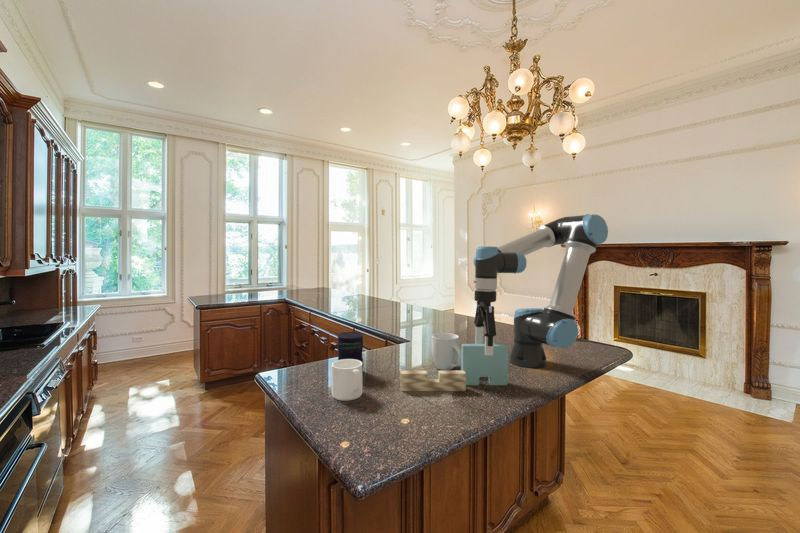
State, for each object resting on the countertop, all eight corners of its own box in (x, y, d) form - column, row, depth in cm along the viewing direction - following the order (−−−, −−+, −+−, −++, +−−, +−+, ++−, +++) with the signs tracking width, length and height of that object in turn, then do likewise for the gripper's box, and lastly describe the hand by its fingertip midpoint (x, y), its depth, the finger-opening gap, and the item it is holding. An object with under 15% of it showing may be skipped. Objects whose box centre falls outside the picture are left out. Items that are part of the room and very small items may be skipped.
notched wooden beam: (463, 387, 122) (464, 370, 122) (465, 390, 119) (465, 373, 119) (400, 387, 122) (400, 370, 122) (400, 391, 119) (400, 373, 119)
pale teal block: (504, 381, 128) (505, 343, 127) (507, 385, 125) (508, 346, 124) (460, 382, 127) (461, 343, 127) (462, 385, 124) (463, 346, 124)
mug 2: (471, 372, 138) (471, 339, 137) (449, 377, 132) (450, 343, 131) (446, 361, 150) (446, 331, 150) (425, 366, 144) (425, 334, 144)
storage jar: (368, 373, 136) (368, 334, 136) (348, 379, 129) (348, 339, 128) (352, 367, 143) (352, 330, 142) (332, 373, 136) (332, 334, 135)
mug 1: (326, 392, 117) (326, 362, 117) (353, 386, 123) (353, 357, 123) (343, 406, 107) (343, 373, 107) (372, 398, 113) (372, 367, 112)
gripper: (467, 286, 137) (465, 340, 138) (484, 294, 112) (482, 360, 113) (486, 286, 137) (484, 340, 138) (507, 294, 112) (505, 360, 113)
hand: (483, 349), depth 125 cm, fingers open, 13 cm apart
